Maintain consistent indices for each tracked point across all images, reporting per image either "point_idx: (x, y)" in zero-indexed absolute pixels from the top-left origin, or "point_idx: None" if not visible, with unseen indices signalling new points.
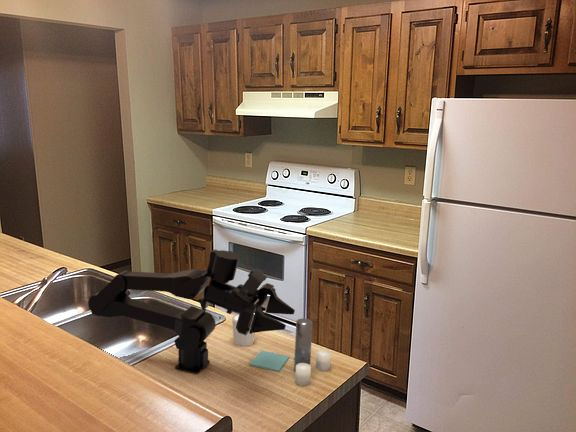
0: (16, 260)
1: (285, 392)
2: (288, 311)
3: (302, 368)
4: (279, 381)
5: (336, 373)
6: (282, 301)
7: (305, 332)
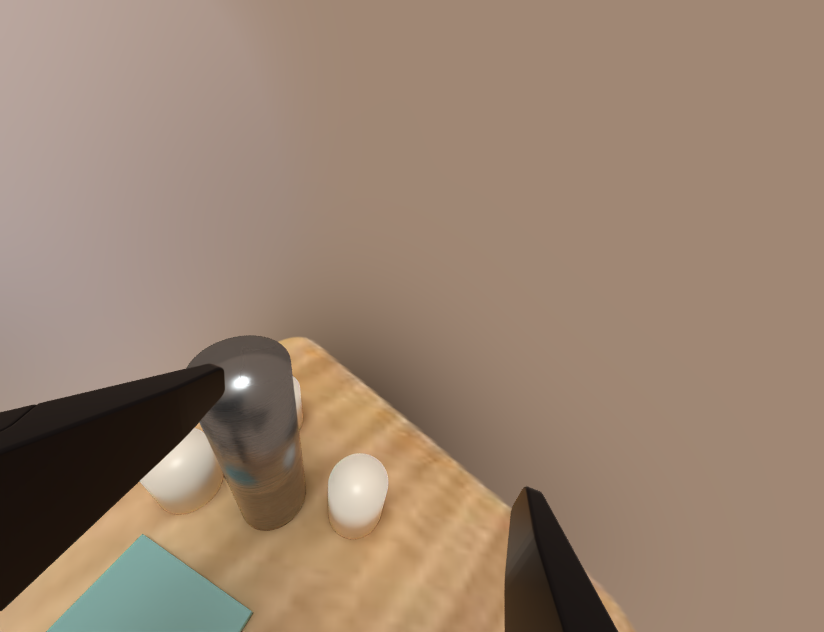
0: None
1: (424, 596)
2: (182, 416)
3: (373, 488)
4: (338, 619)
5: (324, 394)
6: (14, 417)
7: (293, 397)
